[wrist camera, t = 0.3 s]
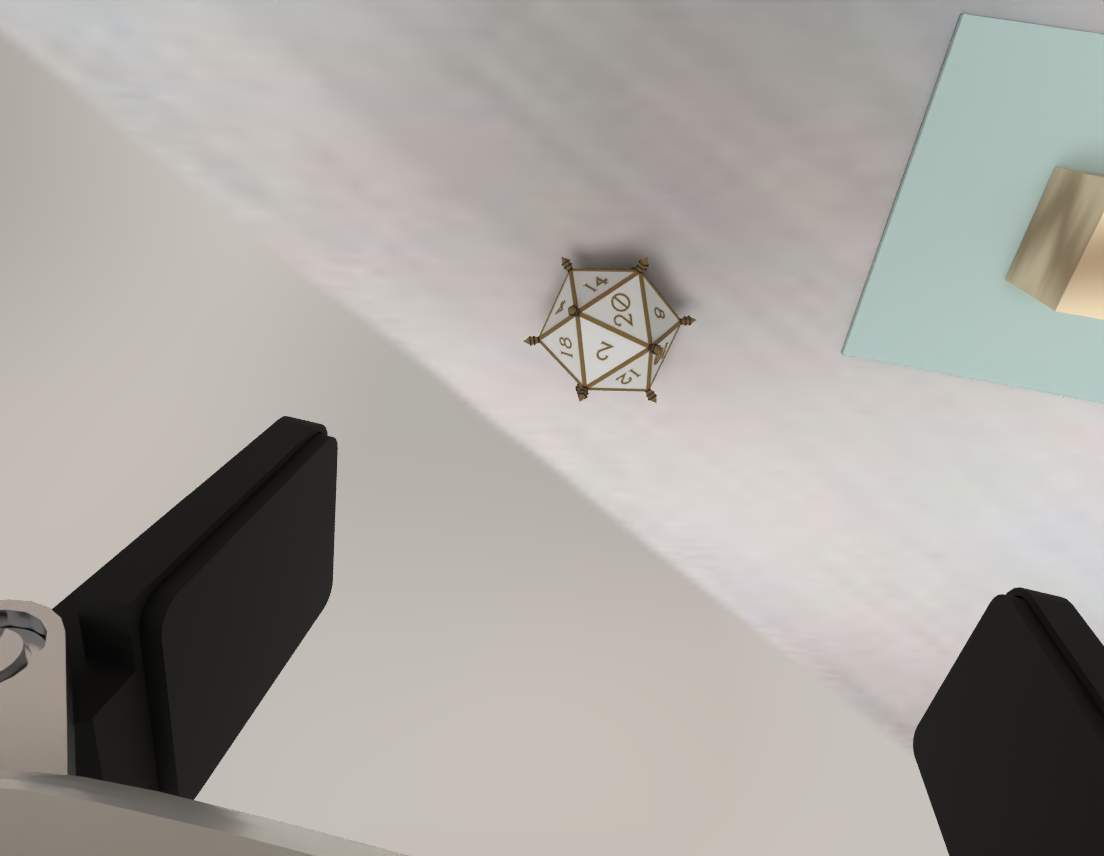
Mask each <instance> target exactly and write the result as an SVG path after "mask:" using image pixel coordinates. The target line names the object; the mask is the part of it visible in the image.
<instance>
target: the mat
mask: <svg viewBox="0 0 1104 856" xmlns="http://www.w3.org/2000/svg"><path fill="white" fill-rule="evenodd" d="M1055 167H1060V168H1066V169H1072V170H1078V171H1085V172H1091V173H1097V174H1103V175H1104V34H1098V33H1091V32H1084V31H1077V30H1070V29H1064V28H1057V27H1050V26H1043V25H1036V24H1029V23H1023V22H1016V21H1009V20H1002V19H995V18H989V17H982V16H975V15H968V14H961V15H960V18H959V21H958V23H957V26H956V29H955V32H954V35H953V38H952V40H951V43H950V46H949V49H948V52H947V55H946V57H945V60H944V63H943V66H942V69H941V72H940V74H939V77H938V80H937V83H936V86H935V89H934V91H933V94H932V97H931V100H930V103H929V106H928V108H927V111H926V114H925V117H924V120H923V123H922V125H921V128H920V131H919V134H918V137H917V140H916V142H915V145H914V148H913V151H912V154H911V157H910V159H909V162H908V165H907V168H906V171H905V174H904V176H903V179H902V182H901V185H900V188H899V191H898V193H897V196H896V199H895V202H894V205H893V208H892V210H891V213H890V216H889V219H888V222H887V225H886V227H885V230H884V233H883V236H882V239H881V242H880V244H879V247H878V250H877V253H876V256H875V259H874V261H873V264H872V267H871V270H870V273H869V276H868V278H867V281H866V284H865V287H864V290H863V293H862V295H861V298H860V301H859V304H858V307H857V310H856V312H855V315H854V318H853V321H852V324H851V327H850V329H849V332H848V335H847V338H846V341H845V344H844V346H843V349H842V352H841V353H842V355H845V356H851V357H856V358H861V359H867V360H872V361H878V362H883V363H888V364H894V365H899V366H904V367H910V368H915V369H920V370H926V371H931V372H937V373H942V374H947V375H953V376H958V377H963V378H969V379H974V380H980V381H985V382H990V383H996V384H1001V385H1006V386H1012V387H1017V388H1022V389H1028V390H1033V391H1039V392H1044V393H1049V394H1055V395H1060V396H1065V397H1071V398H1076V399H1082V400H1087V401H1092V402H1098V403H1103V404H1104V320H1102V319H1096V318H1091V317H1085V316H1080V315H1074V314H1068V313H1063V312H1057V311H1054V310H1053V309H1051V308H1049V307H1048V306H1046V305H1045V304H1043V303H1041V302H1040V301H1038V300H1037V299H1035V298H1034V297H1032V296H1030V295H1029V294H1027V293H1026V292H1024V291H1022V290H1021V289H1019V288H1018V287H1016V286H1015V285H1013V284H1011V283H1010V282H1008V281H1007V280H1005V278H1006V276H1007V274H1008V272H1009V269H1010V267H1011V265H1012V263H1013V260H1014V258H1015V256H1016V254H1017V251H1018V249H1019V247H1020V245H1021V242H1022V240H1023V238H1024V236H1025V233H1026V231H1027V229H1028V227H1029V224H1030V222H1031V220H1032V218H1033V215H1034V213H1035V211H1036V209H1037V206H1038V204H1039V202H1040V200H1041V197H1042V195H1043V193H1044V191H1045V188H1046V186H1047V184H1048V182H1049V179H1050V177H1051V175H1052V173H1053V170H1054V168H1055Z"/></svg>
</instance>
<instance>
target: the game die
mask: <svg viewBox="0 0 1104 856" xmlns="http://www.w3.org/2000/svg"><path fill="white" fill-rule="evenodd" d="M571 264H572V263H570V259H569V260H568V259H566V258H563V257H562V266H564V269H566V270H567V271H568V274H567V276H566V278H565V281H564V283H563V285H562V287H561V289H560V292H559V294H558V296H557V298H556V300H555V303H554V305H553V307H552V309H551V311H550V314H549V316H548V318H547V320H546V322H545V325H544V327H543V329H542V331H541V333H540V336H539V337H535V336H533V337H530V336H529V338H527V339H526V340H525V341H523V342H526V343H528V344H530V346H531V345H533V344H534V345H535V344H536V343H541V344H542V346H543V347H544V348H545V349H546V350H547V351H548V352H549V353H550V354H551V355H552V356H553V357H554V358H555V359H556V360H557V361H558V362H559V364H560V365H561V366H562V367H563V368H564V369H565V370H566V371H567V372H568V373H569V374H570V375H571V376H572V377H573V378H574V379H575V380H576V381H577V383H578V384H577V386H576V391H577V394H578V397H579V401H582V400H583V399H585V398H587V395H588V394H589V393H588V390H609V391H645V392H646V394H647V396H646V397H648V400H651V401H653V402H655V403H656V396H657V395H656V394H654V391H652V390H651V389H650V387H651V385H652V383H653V381H654V379H655V377H656V375H657V373H658V371H659V369H660V367H661V365H662V363H663V360H664V358H665V356H666V354H667V352H668V350H669V348H670V346H671V344H672V342H673V340H674V338H675V335H676V333H677V331H678V329H679V327H680V325H681V324H683V325H687V324H689V325H691V323H693V322H694V321H696V319H693V318H691V317H690V316H688V317H685V316H684V318H682V319H680V318H679V317H678V316H677V315H676V313H675V312H674V311H673V310H672V308H671V307H670V306H669V305H668V303H667V302H666V301H665V300H664V298H663V297H662V296H661V295H660V293H659V292H658V291H657V290H656V288H655V287H654V286H653V285H652V283H651V282H650V281H649V280H648V278H647V277H646V276H645V275H644V273H643V272H644V271H645V270H647V269H646V268H647V267H648V266H649V265H648V260H647V257H646V258H645V259H643V260H640V261H639V264H638V265H637V266H638V269H637V267H635V268H632V269H573V268H572V265H571Z"/></svg>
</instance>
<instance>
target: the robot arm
mask: <svg viewBox="0 0 1104 856" xmlns="http://www.w3.org/2000/svg"><path fill="white" fill-rule="evenodd" d="M337 449H338V448H337V441H336V439H335V438H334V437H330V436H328V435H327V430H326V427H325V426H324V425H322V424H318V423H314V422H309V421H305V420H301V419H297V418H292V417H288V416H284V417H282V418H280V419H279V420H277V421H276V422H275V423H274V424H273V425H271V426H270V427H269V428H268V429H267V430H266V431H264V432H263V433H262V434H261V435H259V436H258V437H257V438H256V439H255V440H254V441H252V442H251V443H250V444H249V445H248V446H247V447H245V448H244V449H243V450H242V451H240V452H239V453H238V454H237V455H236V456H235V457H233V458H232V459H231V460H230V461H229V462H227V463H226V464H225V465H224V466H223V467H222V468H220V469H219V470H218V471H217V472H216V473H214V474H213V475H212V476H211V477H210V478H208V479H207V480H206V481H205V482H204V483H202V484H201V485H200V486H199V487H198V488H196V489H195V490H194V491H193V492H192V493H190V494H189V495H188V496H186V498H184V499H183V500H182V501H181V502H179V503H178V504H177V505H176V506H175V507H173V508H172V509H171V510H170V511H169V512H167V513H166V514H165V515H164V516H163V517H161V518H160V519H159V520H158V521H157V522H155V523H154V524H153V525H152V526H151V527H150V528H148V529H147V530H146V531H145V532H144V533H142V534H141V535H140V536H139V537H138V538H136V539H135V540H134V541H133V542H132V543H131V544H129V545H128V546H127V547H126V548H125V549H123V550H122V551H121V552H120V553H119V554H117V555H116V556H115V557H114V558H113V559H112V560H110V561H109V562H108V563H107V564H105V565H104V566H103V567H102V568H101V569H100V570H98V571H97V572H96V573H95V574H94V575H92V576H91V577H90V578H89V579H88V580H87V581H85V582H84V583H83V584H82V585H80V586H79V587H78V588H77V589H76V590H74V591H73V592H72V593H71V594H70V595H69V596H67V597H66V598H65V599H64V600H63V601H61V602H60V603H59V604H58V605H57V606H55V607H54V608H53V609H52V610H51V609H50V608H49V607H46V606H43V605H40V604H37V603H34V602H32V601H19V600H1V601H0V856H408V855H404V854H400V853H396V852H393V851H389V850H385V849H381V848H378V847H374V846H371V845H367V844H363V843H359V842H356V841H352V840H348V839H344V838H341V837H337V836H333V835H329V834H325V833H322V832H318V831H314V830H310V829H307V828H303V827H299V826H295V825H291V824H287V823H283V822H279V821H275V820H271V819H267V818H263V817H259V816H255V815H251V814H247V813H243V812H238V811H235V810H231V809H227V808H223V807H219V806H215V805H211V804H207V803H203V802H199V801H195V800H194V799H195V797H196V796H197V795H198V793H199V792H200V790H201V789H202V787H203V786H204V785H205V783H206V782H207V780H208V779H209V777H210V776H211V774H212V773H213V771H214V769H215V768H216V767H217V765H218V764H219V762H220V761H221V759H222V758H223V756H224V755H225V753H226V752H227V751H228V749H229V748H230V746H231V745H232V743H233V742H234V740H235V739H236V737H237V736H238V734H239V733H240V731H241V730H242V728H243V727H244V725H245V724H246V722H247V721H248V719H249V718H250V717H251V715H252V714H253V712H254V710H255V709H256V708H257V706H258V705H259V703H260V702H261V700H262V699H263V697H264V696H265V694H266V693H267V691H268V690H269V688H270V687H271V686H272V684H273V683H274V681H275V679H276V678H277V677H278V675H279V674H280V672H281V671H282V669H283V668H284V666H285V665H286V663H287V662H288V660H289V659H290V657H291V656H292V654H293V653H294V651H295V650H296V649H297V647H298V646H299V644H300V643H301V641H302V640H303V638H304V637H305V635H306V634H307V632H308V631H309V629H310V628H311V626H312V625H313V623H314V622H315V620H316V619H317V618H318V616H319V614H320V613H321V612H322V610H323V609H324V607H325V605H326V603H327V601H328V599H329V596H330V593H331V589H332V582H333V557H334V531H335V530H334V529H335V503H336V502H335V501H336V476H337ZM913 750H914V755H915V759H916V761H917V764H918V767H919V770H920V773H921V776H922V778H923V781H924V784H925V787H926V790H927V793H928V796H929V799H930V802H931V804H932V807H933V810H934V813H935V816H936V818H937V821H938V824H939V827H940V830H941V833H942V836H943V839H944V842H945V844H946V847H947V850H948V853H949V856H1104V646H1103V644H1102V643H1101V642H1100V640H1099V639H1098V638H1097V637H1096V635H1095V634H1094V633H1093V631H1092V630H1091V629H1090V627H1089V626H1088V625H1087V623H1086V622H1085V621H1084V619H1083V618H1082V617H1081V615H1080V614H1079V613H1078V611H1077V610H1076V609H1075V607H1074V606H1073V605H1072V604H1071V603H1070V602H1069V601H1068V600H1067V599H1065V598H1062V597H1059V596H1054V595H1050V594H1046V593H1042V592H1037V591H1033V590H1029V589H1024V588H1014V589H1012V590H1011V591H1009V592H1008V593H1007V594H1006V595H1003V594H1002V595H998V596H996V597H995V598H994V599H993V600H992V601H991V602H990V604H989V606H988V607H987V609H986V611H985V612H984V614H983V616H982V618H981V619H980V621H979V623H978V624H977V626H976V628H975V629H974V631H973V633H972V634H971V636H970V638H969V640H968V641H967V643H966V645H965V646H964V648H963V650H962V651H961V653H960V655H959V657H958V658H957V660H956V662H955V663H954V665H953V667H952V668H951V670H950V672H949V673H948V675H947V677H946V679H945V680H944V682H943V684H942V685H941V687H940V689H939V690H938V692H937V694H936V695H935V697H934V699H933V701H932V702H931V704H930V706H929V707H928V709H927V711H926V712H925V714H924V716H923V717H922V719H921V721H920V723H919V724H918V726H917V728H916V730H915V734H914V739H913Z"/></svg>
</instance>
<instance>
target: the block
mask: <svg viewBox="0 0 1104 856" xmlns="http://www.w3.org/2000/svg"><path fill="white" fill-rule="evenodd" d="M1005 280H1007V281H1008V282H1010V283H1011V284H1013V285H1015V286H1016V287H1018V288H1019V289H1021V290H1022V291H1024V292H1026V293H1027V294H1029V295H1030V296H1032V297H1034V298H1035V299H1037V300H1038V301H1040V302H1041V303H1043V304H1045V305H1046V306H1048V307H1049V308H1051V309H1053V310H1054V311H1057V312H1063V313H1068V314H1074V315H1080V316H1085V317H1091V318H1096V319H1102V320H1104V175H1103V174H1097V173H1091V172H1085V171H1078V170H1072V169H1066V168H1060V167H1055V168H1054V170H1053V173H1052V175H1051V177H1050V179H1049V182H1048V184H1047V186H1046V188H1045V191H1044V193H1043V195H1042V197H1041V200H1040V202H1039V204H1038V206H1037V209H1036V211H1035V213H1034V215H1033V218H1032V220H1031V222H1030V224H1029V227H1028V229H1027V231H1026V233H1025V236H1024V238H1023V240H1022V242H1021V245H1020V247H1019V249H1018V251H1017V254H1016V256H1015V258H1014V260H1013V263H1012V265H1011V267H1010V269H1009V272H1008V274H1007V276H1006V278H1005Z"/></svg>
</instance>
